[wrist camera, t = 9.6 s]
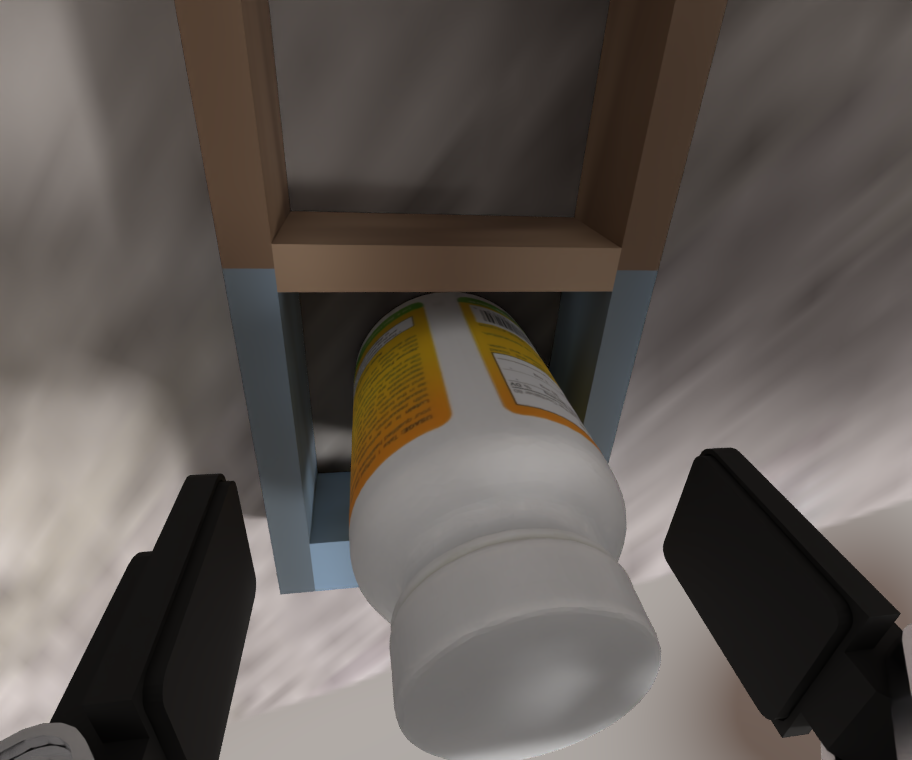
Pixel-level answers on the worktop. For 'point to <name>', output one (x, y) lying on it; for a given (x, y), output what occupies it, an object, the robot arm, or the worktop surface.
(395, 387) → the supplement bottle
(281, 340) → the slot rack
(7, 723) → the worktop surface
